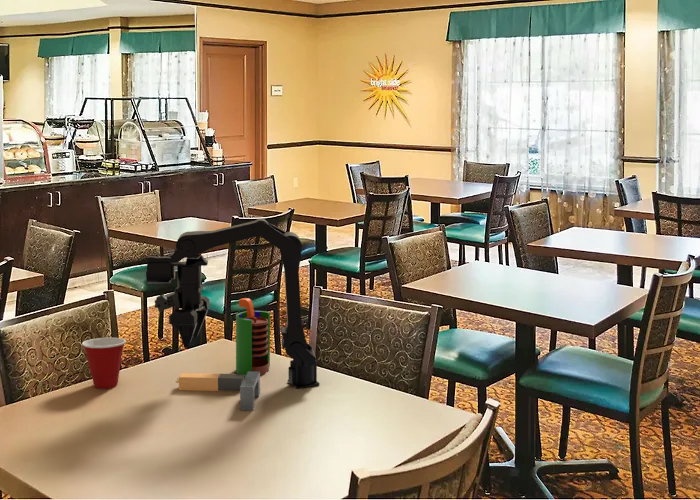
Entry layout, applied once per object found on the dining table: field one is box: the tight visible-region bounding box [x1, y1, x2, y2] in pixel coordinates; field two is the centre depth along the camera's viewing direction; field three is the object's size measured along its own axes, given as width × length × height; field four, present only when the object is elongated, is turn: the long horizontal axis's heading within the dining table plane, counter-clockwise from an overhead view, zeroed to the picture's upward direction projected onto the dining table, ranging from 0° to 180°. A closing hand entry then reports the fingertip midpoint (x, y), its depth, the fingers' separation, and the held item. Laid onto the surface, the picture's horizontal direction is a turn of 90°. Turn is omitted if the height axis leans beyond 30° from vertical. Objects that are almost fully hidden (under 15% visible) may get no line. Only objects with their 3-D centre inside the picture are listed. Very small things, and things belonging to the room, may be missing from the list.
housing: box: [239, 371, 261, 411], centre depth 192 cm, size 3×11×6 cm, turn 178°
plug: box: [175, 372, 245, 392], centre depth 201 cm, size 17×3×3 cm, turn 88°
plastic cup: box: [81, 337, 127, 390], centre depth 202 cm, size 11×11×12 cm
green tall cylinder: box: [235, 297, 271, 377], centre depth 214 cm, size 10×9×20 cm
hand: (190, 342), depth 200 cm, fingers open, 9 cm apart
